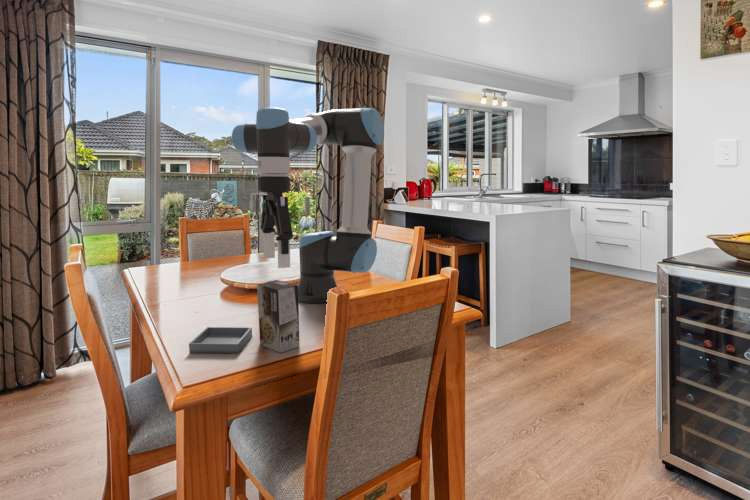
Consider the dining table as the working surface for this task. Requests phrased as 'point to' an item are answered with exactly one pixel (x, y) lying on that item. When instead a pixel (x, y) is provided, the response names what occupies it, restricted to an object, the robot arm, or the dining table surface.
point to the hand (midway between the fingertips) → (276, 262)
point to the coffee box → (278, 315)
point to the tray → (221, 340)
